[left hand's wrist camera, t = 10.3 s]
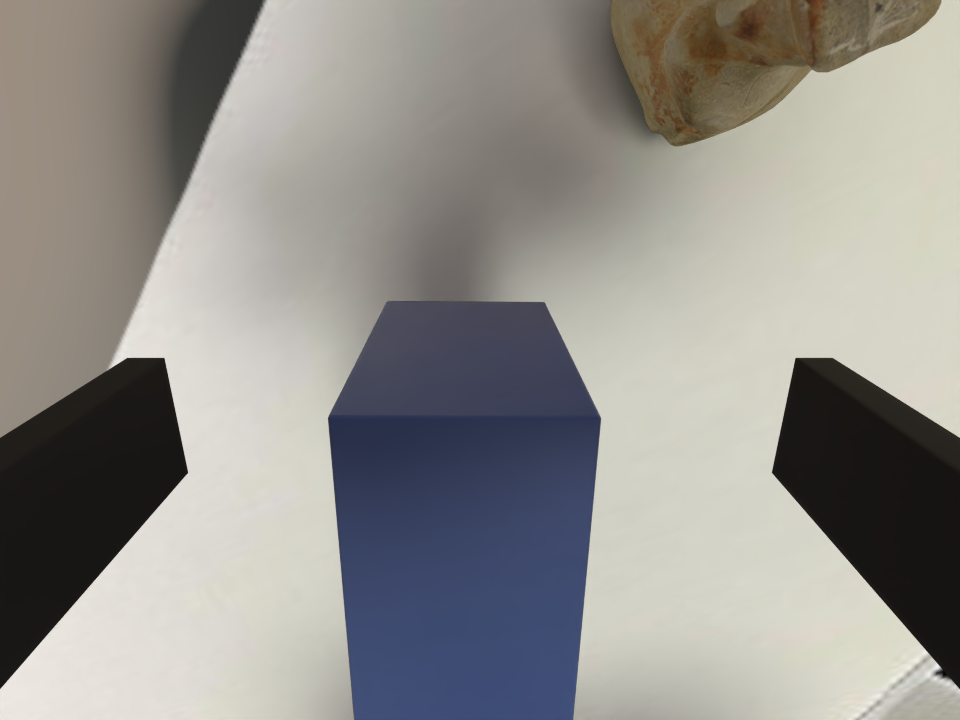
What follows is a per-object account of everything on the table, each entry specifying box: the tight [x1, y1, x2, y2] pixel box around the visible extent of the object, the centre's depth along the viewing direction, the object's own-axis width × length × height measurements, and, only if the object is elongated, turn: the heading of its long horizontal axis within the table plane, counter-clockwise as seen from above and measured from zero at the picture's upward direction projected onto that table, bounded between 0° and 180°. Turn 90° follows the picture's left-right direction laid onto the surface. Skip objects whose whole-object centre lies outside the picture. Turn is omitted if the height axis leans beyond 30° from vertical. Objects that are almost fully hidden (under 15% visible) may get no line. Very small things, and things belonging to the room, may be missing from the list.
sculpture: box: [610, 0, 941, 146], centre depth 20 cm, size 6×7×15 cm
